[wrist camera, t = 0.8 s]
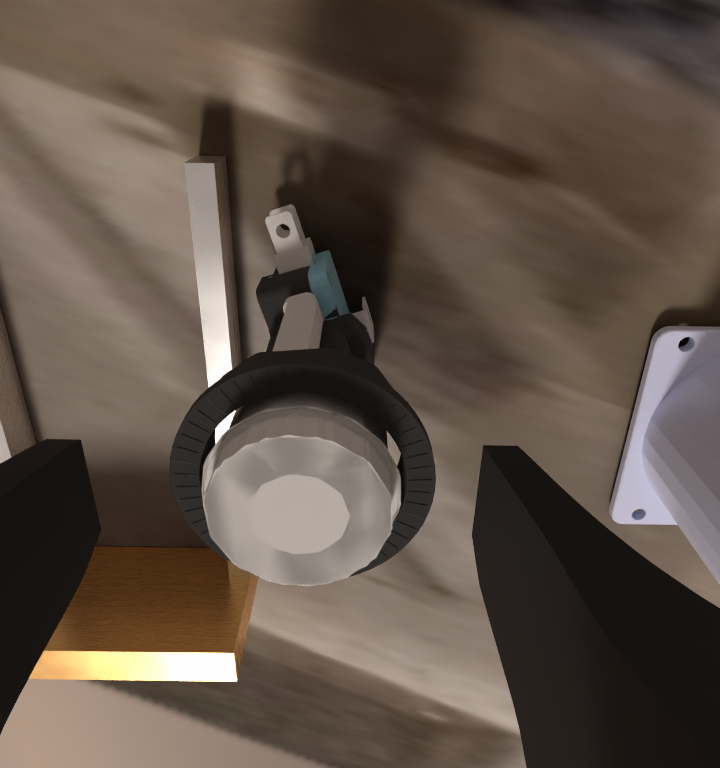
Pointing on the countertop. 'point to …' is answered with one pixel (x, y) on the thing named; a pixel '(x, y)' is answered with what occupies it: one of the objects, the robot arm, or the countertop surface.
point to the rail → (156, 564)
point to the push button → (304, 437)
